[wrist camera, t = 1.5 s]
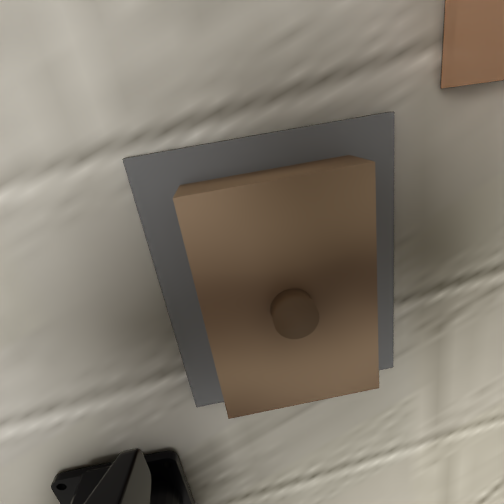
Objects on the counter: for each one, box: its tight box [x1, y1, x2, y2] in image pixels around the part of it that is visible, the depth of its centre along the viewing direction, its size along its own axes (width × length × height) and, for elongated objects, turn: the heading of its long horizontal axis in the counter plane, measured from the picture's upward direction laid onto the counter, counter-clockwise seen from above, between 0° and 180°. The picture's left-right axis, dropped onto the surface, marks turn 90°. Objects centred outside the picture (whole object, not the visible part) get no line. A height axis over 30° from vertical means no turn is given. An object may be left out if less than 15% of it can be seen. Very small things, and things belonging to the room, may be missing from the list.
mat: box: [123, 112, 394, 407], centre depth 15 cm, size 12×10×1 cm
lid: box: [173, 155, 379, 419], centre depth 13 cm, size 10×6×3 cm
